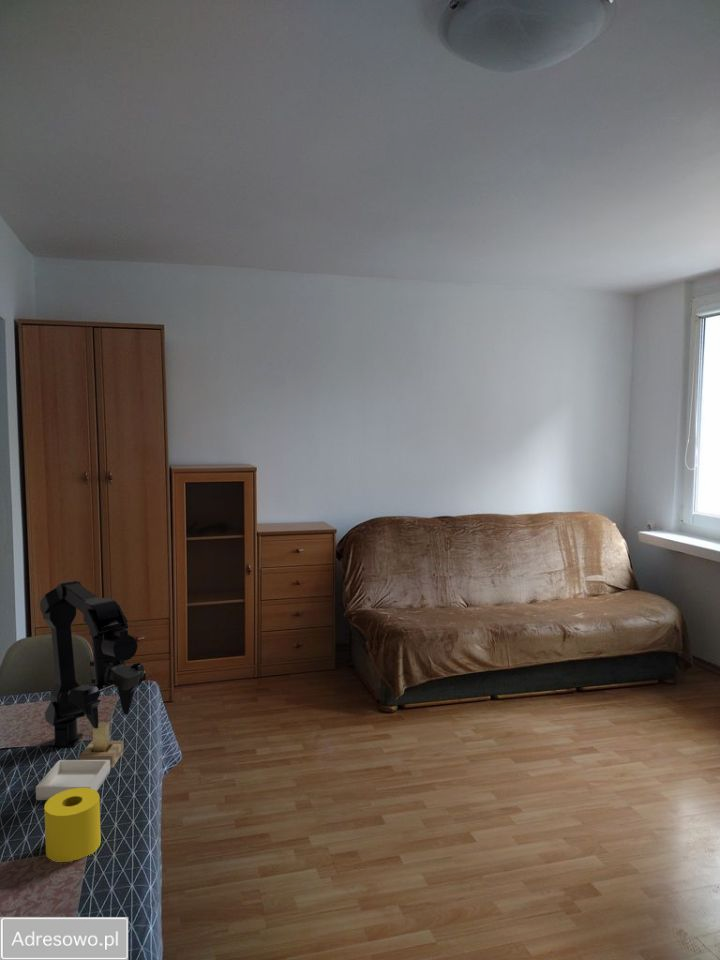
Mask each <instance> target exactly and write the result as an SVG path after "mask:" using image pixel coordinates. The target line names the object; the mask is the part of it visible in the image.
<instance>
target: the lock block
mask: <svg viewBox="0 0 720 960" xmlns="http://www.w3.org/2000/svg"><path fill="white" fill-rule="evenodd" d="M123 753H124V740H110V749H109V751H108V752H93V740H91V741H90V742H89V743H88V745H87V746H86V747H85V749H84V750H83V751H81V753H80V754H79V757H78V758H79V759H78V760H110V769H113V768H114V766H116V763H117V762H118V761H119V759H120V758H121V756H123V755H122V754H123Z"/></svg>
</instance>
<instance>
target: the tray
mask: <svg viewBox="0 0 720 960" xmlns="http://www.w3.org/2000/svg"><path fill="white" fill-rule="evenodd" d="M110 773H111V768H110V760H79V759H59V760H58V761H56V763H54V765H53V767H51V769H50V770H49V771H48V772H47V773H46V775H45V776H44V777H43V778H42V779H41V780H40V781H39V782H38V784H37V785H36V786H35V800H36V801H48V800H49V799H50V798H51V797H52V796H54V795H56V794H58V793H60V792H63V791H65V790H69V789H74V788H90V789H93V790H95V791H97V792H98V790H99V789H100V788H101V786H102V785H103V783H104V782H105V780H106V779H107V778H108V776H109V775H110Z"/></svg>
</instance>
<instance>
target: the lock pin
mask: <svg viewBox="0 0 720 960" xmlns="http://www.w3.org/2000/svg"><path fill="white" fill-rule="evenodd" d="M110 734H111V733H110V722H109V721H108V722H105V721H104V722H99V721H98V728H97V729H96V728H93V727H92V741H93V752H108V751H109V749H110V741H111V740H110V739H111V738H110V736H111V735H110Z"/></svg>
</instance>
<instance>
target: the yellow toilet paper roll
mask: <svg viewBox="0 0 720 960" xmlns="http://www.w3.org/2000/svg"><path fill="white" fill-rule="evenodd" d="M100 801H101V799H100V794H99V792H98V791H95V790H93V789H90V788H74V789H69V790H65V791H63V792H60V793H58V794H56V795H54V796H52V797H51V798H50V799H49V800H46V801H45V804H44V831H45V832H44V834H45V855H46V858H47V857H48V858H49V859H51V860H53V861H59V862H66V861H73V860H77V859H80V858H82V857H85V856H88V855H89V856H91V855H93V854H94V853H96V851H97V850H98V849H99V848H100V845H101V842H102V841H101V839H102V838H101V805H100V804H101V803H100ZM90 854H91V855H90ZM89 856H88V857H89ZM48 858H47V859H48ZM49 859H48V860H49ZM51 860H50V861H51ZM53 861H52V862H53Z"/></svg>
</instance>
